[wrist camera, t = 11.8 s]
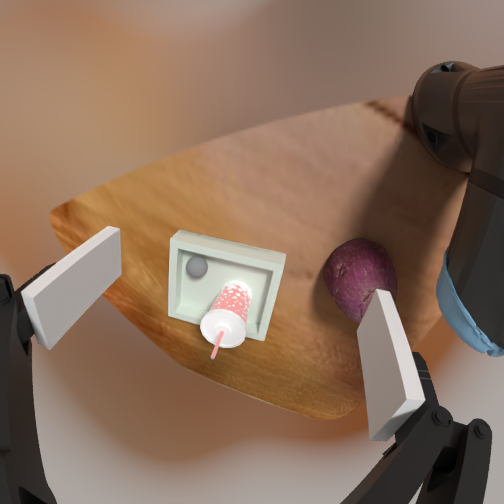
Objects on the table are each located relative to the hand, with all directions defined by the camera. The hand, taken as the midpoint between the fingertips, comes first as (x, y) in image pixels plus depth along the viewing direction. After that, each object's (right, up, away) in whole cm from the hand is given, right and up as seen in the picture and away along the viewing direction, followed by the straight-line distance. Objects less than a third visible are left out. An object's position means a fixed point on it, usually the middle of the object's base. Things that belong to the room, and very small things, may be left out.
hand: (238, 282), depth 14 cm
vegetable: (+16, -1, +28) cm, 32 cm away
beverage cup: (-2, -5, +32) cm, 32 cm away
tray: (-3, -3, +32) cm, 33 cm away
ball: (-7, 0, +30) cm, 31 cm away
